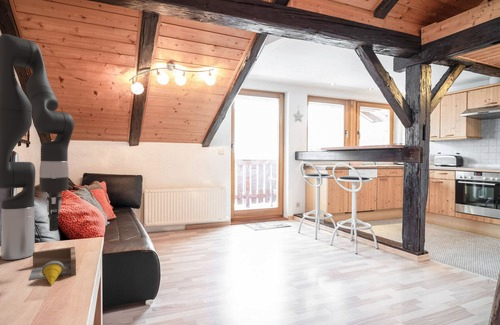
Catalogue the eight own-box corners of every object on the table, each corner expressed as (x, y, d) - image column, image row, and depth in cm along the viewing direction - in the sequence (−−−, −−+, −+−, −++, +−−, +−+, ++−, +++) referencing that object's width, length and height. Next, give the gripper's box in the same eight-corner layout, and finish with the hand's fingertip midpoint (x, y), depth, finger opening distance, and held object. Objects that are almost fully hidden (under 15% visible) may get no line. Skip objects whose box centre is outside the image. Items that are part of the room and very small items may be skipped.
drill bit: (66, 265, 94) (64, 289, 86) (45, 271, 92) (42, 295, 83) (61, 252, 91) (59, 275, 83) (41, 257, 89) (36, 281, 81)
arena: (33, 267, 98) (33, 251, 98) (74, 261, 104) (74, 246, 104) (28, 283, 85) (28, 266, 85) (75, 275, 91) (75, 259, 91)
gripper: (41, 174, 97) (40, 224, 98) (37, 177, 85) (37, 234, 86) (68, 174, 101) (67, 221, 102) (68, 177, 89) (68, 231, 90)
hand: (54, 227), depth 94 cm, fingers open, 8 cm apart
